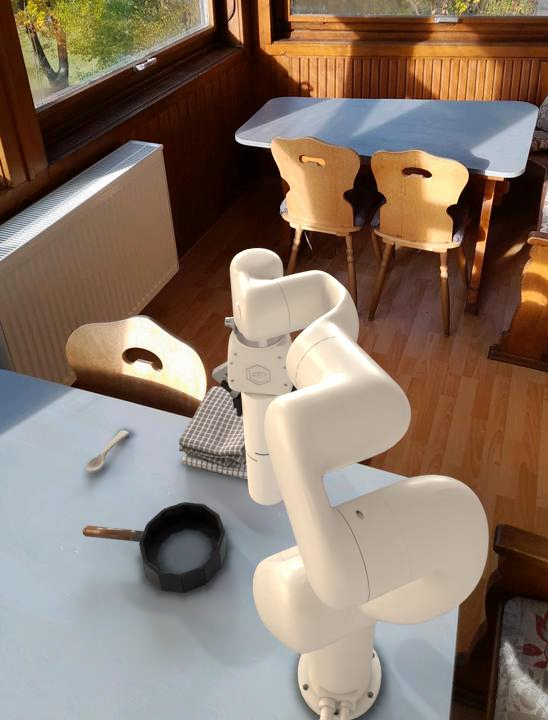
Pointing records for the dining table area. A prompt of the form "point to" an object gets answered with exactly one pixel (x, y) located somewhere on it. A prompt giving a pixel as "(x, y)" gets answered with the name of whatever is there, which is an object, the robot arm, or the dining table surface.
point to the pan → (161, 530)
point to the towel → (216, 436)
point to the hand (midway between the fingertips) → (264, 411)
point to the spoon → (105, 453)
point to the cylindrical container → (258, 449)
